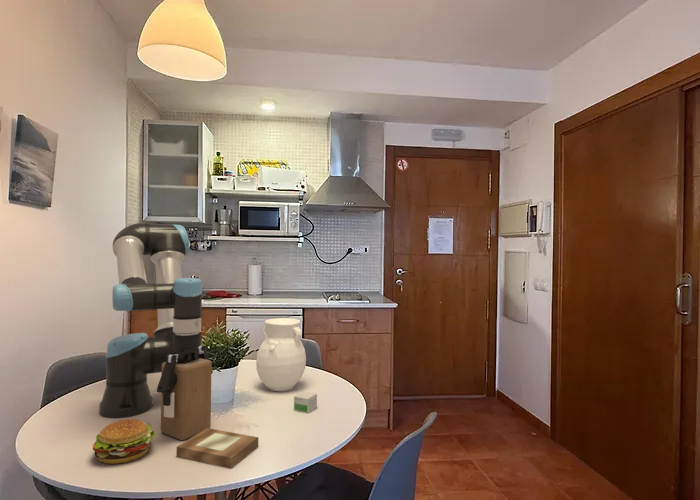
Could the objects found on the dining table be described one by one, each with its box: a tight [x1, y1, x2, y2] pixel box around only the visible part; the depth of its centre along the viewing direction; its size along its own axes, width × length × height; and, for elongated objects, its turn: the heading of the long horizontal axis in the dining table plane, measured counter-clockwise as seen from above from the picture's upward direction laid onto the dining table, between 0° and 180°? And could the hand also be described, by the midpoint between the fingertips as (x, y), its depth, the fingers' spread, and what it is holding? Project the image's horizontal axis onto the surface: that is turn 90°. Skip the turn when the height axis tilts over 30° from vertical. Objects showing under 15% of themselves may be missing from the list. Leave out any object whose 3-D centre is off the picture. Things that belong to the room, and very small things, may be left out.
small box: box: [293, 390, 318, 414], centre depth 142 cm, size 6×6×5 cm
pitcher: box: [255, 317, 307, 392], centre depth 164 cm, size 19×18×25 cm
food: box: [92, 418, 156, 465], centre depth 110 cm, size 14×14×8 cm
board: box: [175, 428, 259, 469], centre depth 111 cm, size 16×12×3 cm
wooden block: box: [160, 358, 213, 441], centre depth 123 cm, size 10×10×20 cm
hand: (186, 408), depth 123 cm, fingers open, 13 cm apart
